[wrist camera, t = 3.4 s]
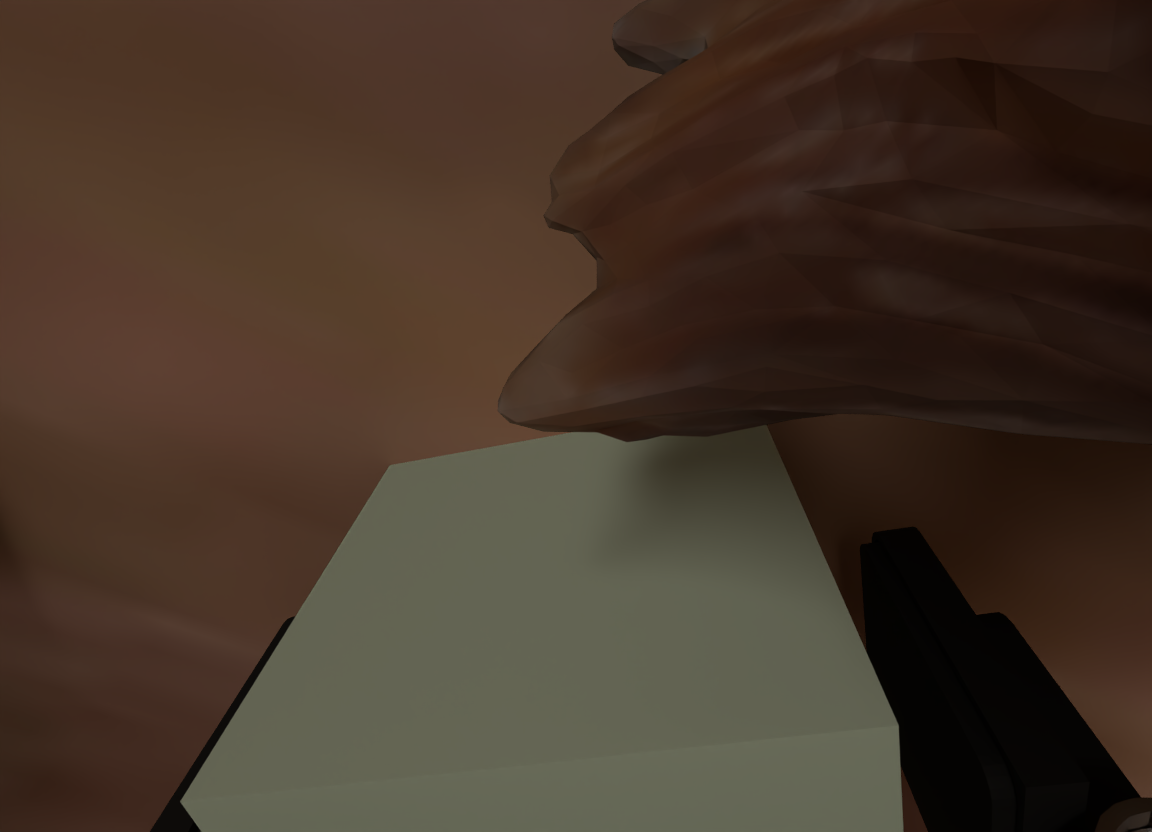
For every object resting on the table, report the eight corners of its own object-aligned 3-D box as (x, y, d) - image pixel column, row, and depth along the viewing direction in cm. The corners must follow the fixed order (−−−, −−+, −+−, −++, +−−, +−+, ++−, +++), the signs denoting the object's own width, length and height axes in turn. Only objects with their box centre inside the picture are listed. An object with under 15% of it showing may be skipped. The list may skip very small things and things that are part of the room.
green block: (391, 463, 11) (179, 801, 6) (753, 397, 10) (898, 726, 5) (490, 716, 14) (406, 1119, 8) (791, 680, 13) (916, 1107, 7)
